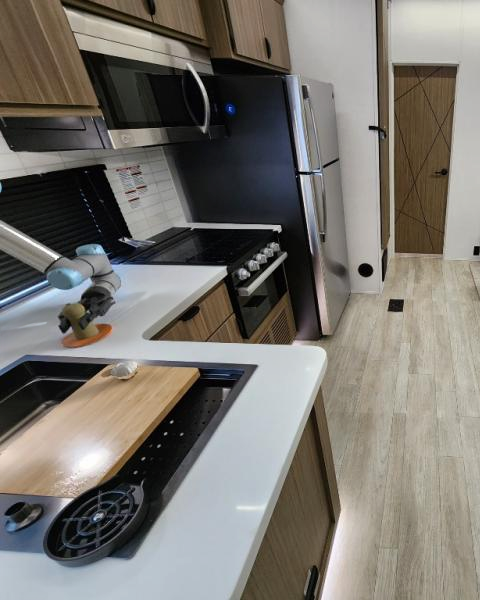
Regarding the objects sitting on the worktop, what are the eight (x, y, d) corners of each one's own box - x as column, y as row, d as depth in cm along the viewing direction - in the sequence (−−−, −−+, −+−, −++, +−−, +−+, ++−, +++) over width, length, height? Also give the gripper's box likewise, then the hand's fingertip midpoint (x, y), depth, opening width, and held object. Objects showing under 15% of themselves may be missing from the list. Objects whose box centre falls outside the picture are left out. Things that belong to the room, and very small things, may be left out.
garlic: (119, 387, 88) (111, 372, 86) (112, 379, 91) (104, 364, 89) (145, 374, 92) (137, 360, 90) (137, 367, 95) (130, 353, 93)
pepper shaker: (92, 338, 107) (75, 309, 102) (70, 340, 106) (53, 311, 101) (102, 328, 112) (87, 300, 107) (82, 330, 111) (65, 302, 106)
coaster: (50, 347, 104) (49, 346, 104) (85, 325, 115) (84, 323, 115) (90, 347, 104) (90, 346, 103) (122, 325, 115) (121, 323, 115)
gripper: (130, 299, 125) (110, 331, 107) (74, 308, 120) (42, 344, 101) (122, 281, 122) (100, 311, 103) (63, 290, 116) (28, 323, 97)
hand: (71, 327), depth 102 cm, fingers closed on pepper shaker, 4 cm apart
